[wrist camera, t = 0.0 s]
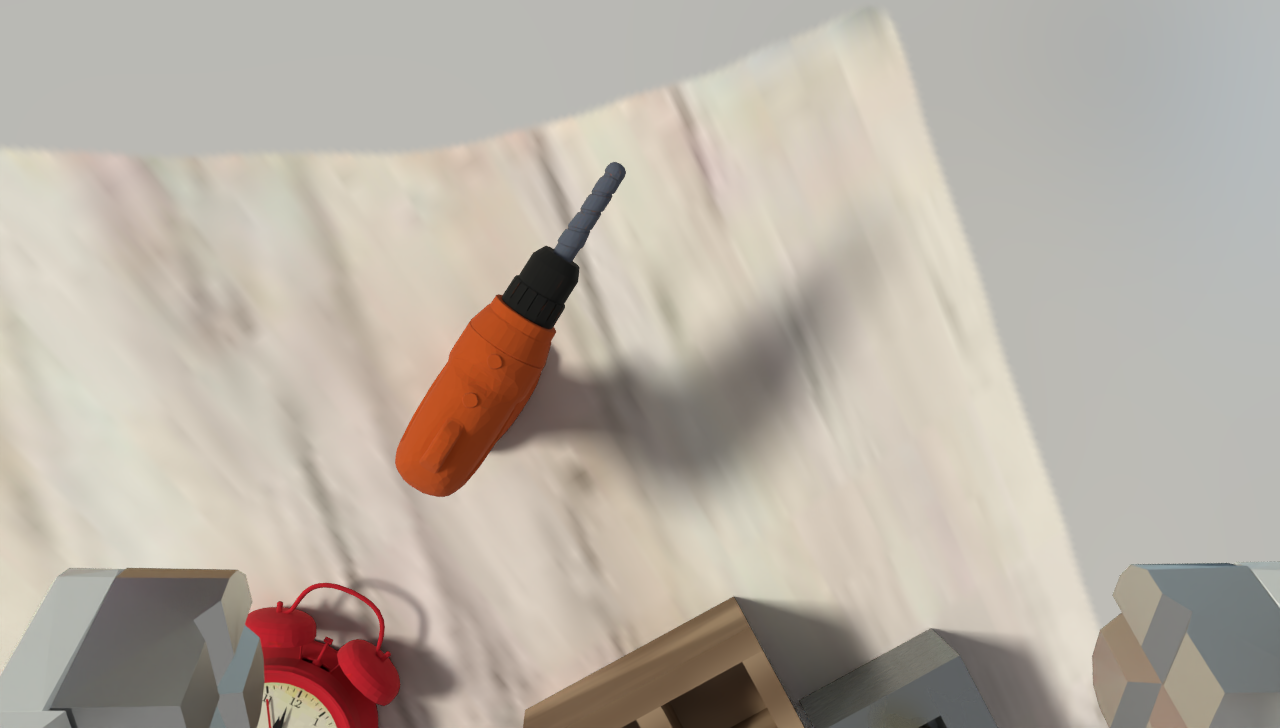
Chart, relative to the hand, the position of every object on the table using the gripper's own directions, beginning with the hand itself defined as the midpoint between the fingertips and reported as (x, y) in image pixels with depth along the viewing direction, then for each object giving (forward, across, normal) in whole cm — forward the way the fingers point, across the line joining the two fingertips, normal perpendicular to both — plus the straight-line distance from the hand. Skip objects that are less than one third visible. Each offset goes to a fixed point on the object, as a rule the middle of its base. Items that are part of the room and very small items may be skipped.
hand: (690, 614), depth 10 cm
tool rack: (+37, +4, -45) cm, 59 cm away
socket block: (+37, +18, -46) cm, 62 cm away
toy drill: (+48, -4, -25) cm, 55 cm away
